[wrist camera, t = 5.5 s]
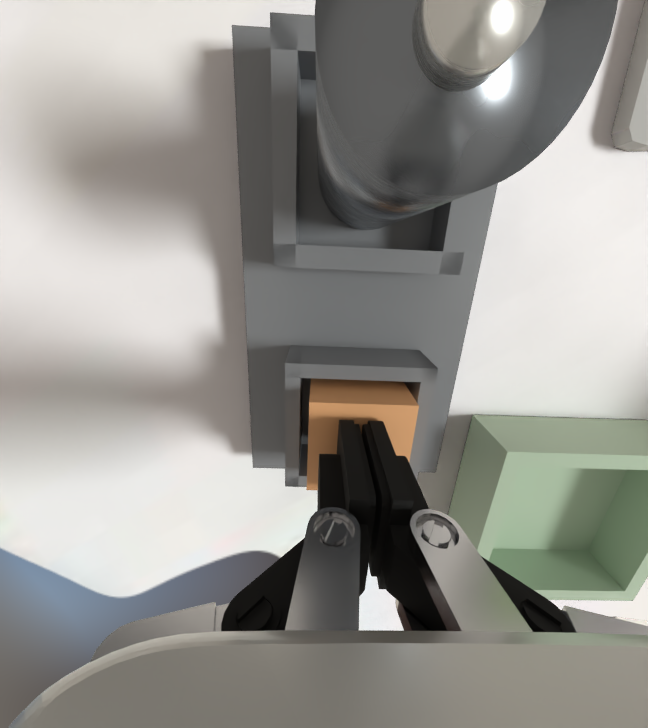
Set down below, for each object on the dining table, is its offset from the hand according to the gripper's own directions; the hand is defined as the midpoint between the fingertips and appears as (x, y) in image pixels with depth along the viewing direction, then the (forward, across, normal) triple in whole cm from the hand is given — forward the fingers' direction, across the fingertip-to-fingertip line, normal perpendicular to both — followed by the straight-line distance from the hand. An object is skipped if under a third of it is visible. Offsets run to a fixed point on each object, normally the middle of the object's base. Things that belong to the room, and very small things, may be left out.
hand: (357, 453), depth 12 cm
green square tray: (+5, -12, +6) cm, 14 cm away
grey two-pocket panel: (+5, 0, -5) cm, 7 cm away
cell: (+4, 0, -10) cm, 11 cm away
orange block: (+2, 0, 0) cm, 2 cm away
